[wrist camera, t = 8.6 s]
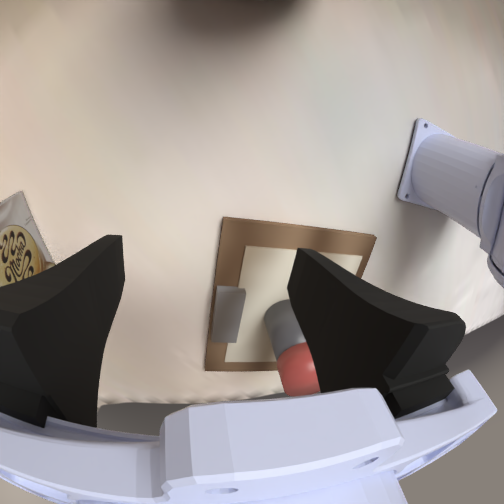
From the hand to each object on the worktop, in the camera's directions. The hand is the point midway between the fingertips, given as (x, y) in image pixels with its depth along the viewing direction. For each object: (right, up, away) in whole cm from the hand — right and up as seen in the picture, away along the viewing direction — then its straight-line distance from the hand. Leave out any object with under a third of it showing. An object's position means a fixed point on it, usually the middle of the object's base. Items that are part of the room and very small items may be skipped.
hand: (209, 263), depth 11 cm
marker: (+5, -6, +15) cm, 17 cm away
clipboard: (+5, -5, +16) cm, 17 cm away
